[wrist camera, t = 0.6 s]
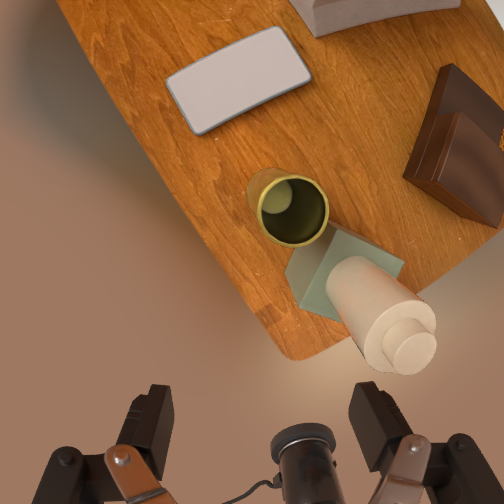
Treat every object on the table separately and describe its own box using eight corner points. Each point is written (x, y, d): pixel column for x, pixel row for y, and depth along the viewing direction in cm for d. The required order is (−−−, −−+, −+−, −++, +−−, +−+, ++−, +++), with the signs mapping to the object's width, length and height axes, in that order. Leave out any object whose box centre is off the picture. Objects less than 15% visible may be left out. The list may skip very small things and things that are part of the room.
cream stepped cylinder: (363, 318, 29) (419, 395, 17) (315, 300, 28) (358, 382, 16) (390, 268, 27) (465, 326, 16) (343, 246, 27) (408, 302, 15)
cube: (339, 294, 39) (366, 332, 29) (283, 271, 38) (298, 307, 28) (367, 237, 37) (405, 261, 27) (311, 211, 36) (337, 228, 26)
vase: (295, 163, 34) (330, 163, 21) (302, 216, 36) (340, 247, 22) (242, 172, 34) (243, 174, 21) (250, 224, 36) (257, 261, 22)
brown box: (461, 217, 37) (497, 229, 29) (402, 177, 35) (437, 181, 27) (493, 114, 32) (529, 111, 25) (440, 67, 31) (474, 54, 23)
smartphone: (162, 79, 30) (279, 23, 28) (164, 81, 31) (278, 26, 29) (195, 138, 32) (314, 79, 31) (197, 139, 33) (313, 81, 31)
